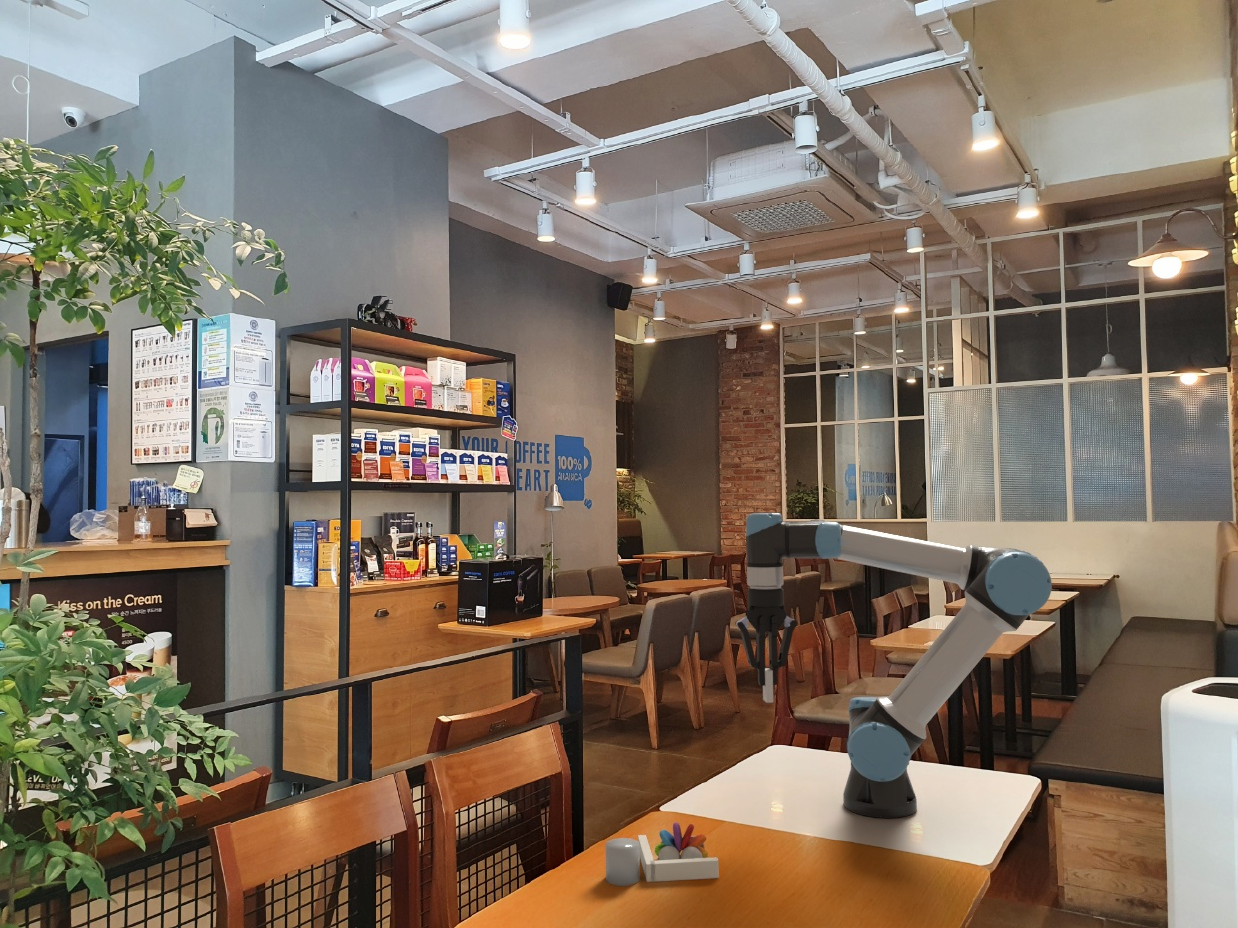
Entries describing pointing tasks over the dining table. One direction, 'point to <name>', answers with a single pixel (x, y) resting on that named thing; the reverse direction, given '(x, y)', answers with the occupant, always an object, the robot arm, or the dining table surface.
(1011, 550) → the robot arm
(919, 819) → the dining table surface
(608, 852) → the short grey cylinder
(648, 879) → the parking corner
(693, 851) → the rainbow petal fan toy
